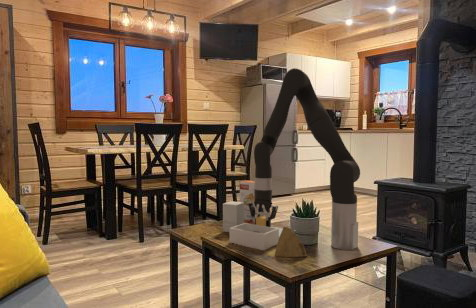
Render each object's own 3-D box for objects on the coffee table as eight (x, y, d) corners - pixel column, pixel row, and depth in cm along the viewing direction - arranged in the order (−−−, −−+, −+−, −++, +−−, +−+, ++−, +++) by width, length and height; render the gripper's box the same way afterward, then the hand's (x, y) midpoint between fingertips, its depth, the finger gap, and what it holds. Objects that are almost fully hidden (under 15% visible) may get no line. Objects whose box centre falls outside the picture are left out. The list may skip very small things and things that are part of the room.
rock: (313, 247, 135) (289, 239, 141) (309, 232, 130) (284, 224, 136) (299, 271, 129) (274, 261, 135) (294, 256, 124) (269, 247, 130)
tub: (278, 243, 148) (278, 228, 148) (264, 250, 139) (264, 234, 139) (245, 237, 157) (245, 222, 157) (229, 243, 148) (229, 228, 148)
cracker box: (238, 224, 179) (239, 181, 178) (246, 222, 184) (246, 179, 183) (263, 229, 171) (263, 183, 170) (270, 226, 176) (270, 182, 175)
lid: (299, 236, 157) (299, 219, 157) (285, 242, 148) (286, 224, 148) (259, 228, 169) (259, 213, 168) (244, 234, 159) (245, 218, 159)
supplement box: (244, 230, 169) (245, 202, 168) (236, 233, 162) (236, 204, 162) (230, 228, 172) (231, 200, 172) (222, 231, 166) (222, 203, 165)
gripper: (282, 188, 159) (281, 228, 160) (254, 185, 167) (253, 223, 168) (273, 190, 153) (272, 232, 154) (244, 187, 161) (244, 227, 162)
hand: (262, 227), depth 161 cm, fingers closed on lid, 4 cm apart
